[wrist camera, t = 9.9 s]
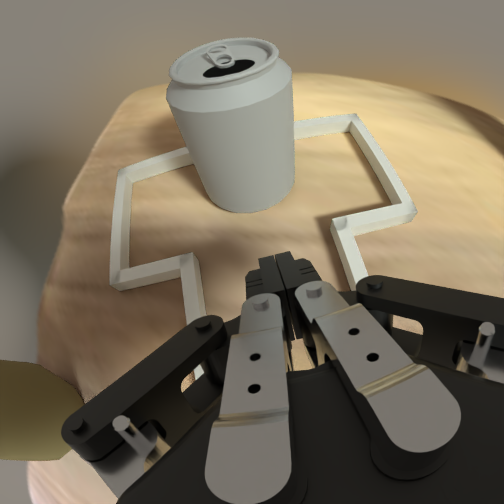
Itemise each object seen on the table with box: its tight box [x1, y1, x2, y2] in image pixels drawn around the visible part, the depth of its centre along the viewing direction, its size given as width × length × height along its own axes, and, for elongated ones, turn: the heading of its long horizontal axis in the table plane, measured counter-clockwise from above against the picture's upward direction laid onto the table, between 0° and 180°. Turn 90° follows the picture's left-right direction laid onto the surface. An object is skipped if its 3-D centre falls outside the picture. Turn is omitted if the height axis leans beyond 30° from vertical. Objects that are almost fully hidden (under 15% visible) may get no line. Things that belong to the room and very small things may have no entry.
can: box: [166, 38, 295, 213], centre depth 17 cm, size 8×8×12 cm
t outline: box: [110, 114, 418, 380], centre depth 19 cm, size 23×24×2 cm
